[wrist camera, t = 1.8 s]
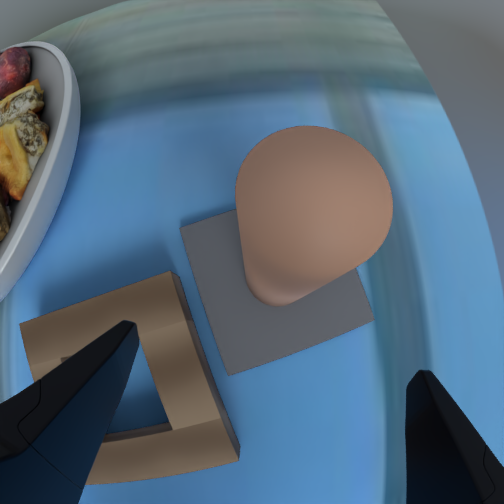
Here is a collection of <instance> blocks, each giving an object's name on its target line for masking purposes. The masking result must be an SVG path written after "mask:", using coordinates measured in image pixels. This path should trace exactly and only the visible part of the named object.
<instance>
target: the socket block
mask: <svg viewBox="0 0 504 504" xmlns="http://www.w3.org/2000/svg"><path fill="white" fill-rule="evenodd" d="M122 320H128V321H132V322H135V323H136V324H137V329H138V335H139V338H140V341H141V345H142V348H143V351H144V354H145V357H146V360H147V363H148V366H149V369H150V371H151V374H152V377H153V380H154V383H155V385H156V388H157V391H158V393H159V396H160V399H161V401H162V404H163V407H164V409H165V412H166V414H167V417H168V419H169V422H166V423H162V424H158V425H153V426H148V427H143V428H138V429H133V430H128V431H123V432H117V433H111V434H105V436H104V439H103V441H102V444H101V446H100V448H99V451H98V453H97V456H96V458H95V461H94V463H93V466H92V468H91V471H90V473H89V476H88V479H87V481H86V484H85V485H92V484H108V483H120V482H130V481H138V480H146V479H153V478H160V477H166V476H172V475H178V474H183V473H189V472H194V471H198V470H203V469H208V468H212V467H216V466H220V465H225V464H228V463H232V462H236V461H239V455H240V444H239V442H238V439H237V437H236V435H235V432H234V430H233V427H232V425H231V422H230V420H229V417H228V415H227V412H226V410H225V407H224V405H223V402H222V399H221V397H220V394H219V392H218V389H217V386H216V384H215V381H214V378H213V375H212V373H211V370H210V367H209V365H208V362H207V359H206V356H205V353H204V350H203V348H202V345H201V342H200V339H199V336H198V333H197V330H196V327H195V324H194V321H193V318H192V315H191V312H190V309H189V306H188V303H187V300H186V297H185V293H184V290H183V287H182V284H181V281H180V277H179V276H177V275H176V274H174V273H173V272H171V271H168V272H165V273H162V274H159V275H156V276H153V277H150V278H148V279H145V280H142V281H139V282H136V283H133V284H130V285H127V286H125V287H122V288H119V289H116V290H113V291H110V292H107V293H105V294H102V295H99V296H96V297H93V298H90V299H88V300H85V301H82V302H79V303H76V304H73V305H71V306H68V307H65V308H62V309H59V310H57V311H54V312H51V313H48V314H45V315H42V316H40V317H37V318H34V319H31V320H29V321H26V322H23V323H20V324H19V325H20V330H21V334H22V339H23V343H24V347H25V351H26V355H27V359H28V363H29V366H30V370H31V374H32V377H33V380H34V382H36V381H37V380H38V379H41V377H43V376H44V375H45V374H47V373H48V372H50V371H51V370H52V369H54V368H55V367H57V366H58V365H59V364H61V363H62V362H64V361H65V360H67V359H68V358H69V357H71V356H72V355H74V354H75V353H76V352H78V351H79V350H81V349H82V348H83V347H85V346H86V345H88V344H89V343H91V342H92V341H93V340H95V339H96V338H98V337H99V336H101V335H102V334H103V333H105V332H106V331H108V330H109V329H111V328H112V327H113V326H115V325H116V324H118V323H119V322H121V321H122Z"/></svg>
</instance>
